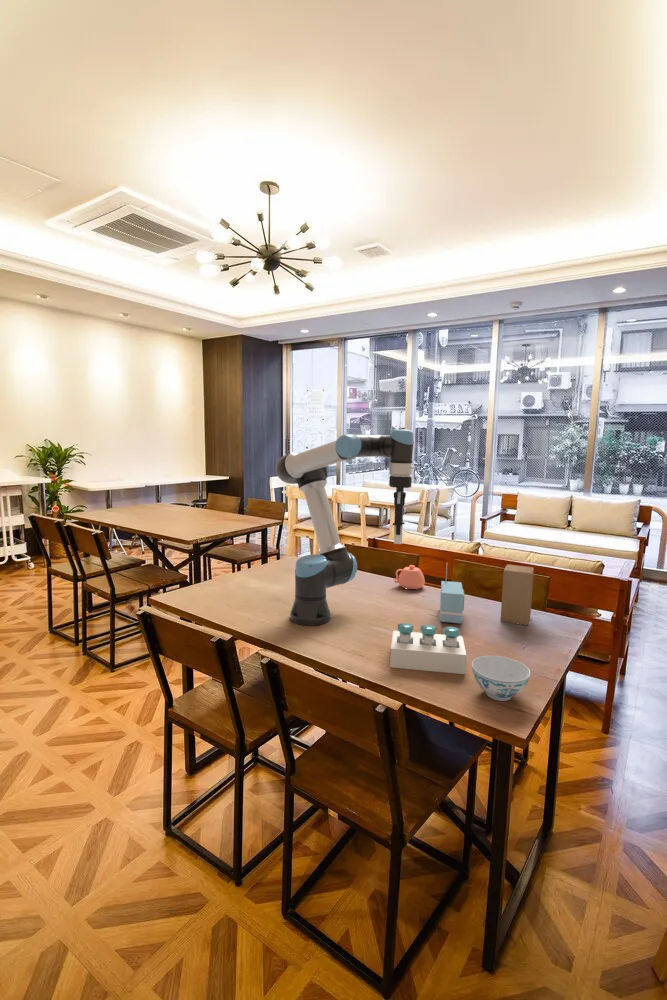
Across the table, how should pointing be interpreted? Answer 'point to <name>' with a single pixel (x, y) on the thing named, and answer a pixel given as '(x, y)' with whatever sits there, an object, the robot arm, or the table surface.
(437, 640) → the mount
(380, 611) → the table surface
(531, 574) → the wooden block
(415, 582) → the pink teapot
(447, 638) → the knob
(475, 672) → the chinaware
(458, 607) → the radio
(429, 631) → the knob mid
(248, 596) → the table surface
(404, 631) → the knob
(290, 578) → the table surface
